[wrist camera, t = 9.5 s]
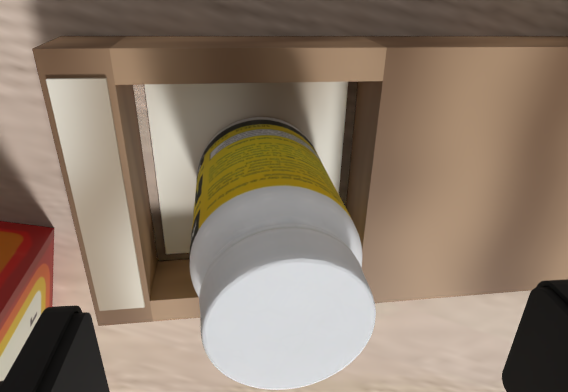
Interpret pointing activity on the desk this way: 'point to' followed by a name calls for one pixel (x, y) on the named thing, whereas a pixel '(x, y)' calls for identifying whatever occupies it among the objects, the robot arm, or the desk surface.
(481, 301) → the desk surface
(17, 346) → the baking soda box
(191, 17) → the desk surface
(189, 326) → the desk surface
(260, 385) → the supplement bottle
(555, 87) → the wooden tray
